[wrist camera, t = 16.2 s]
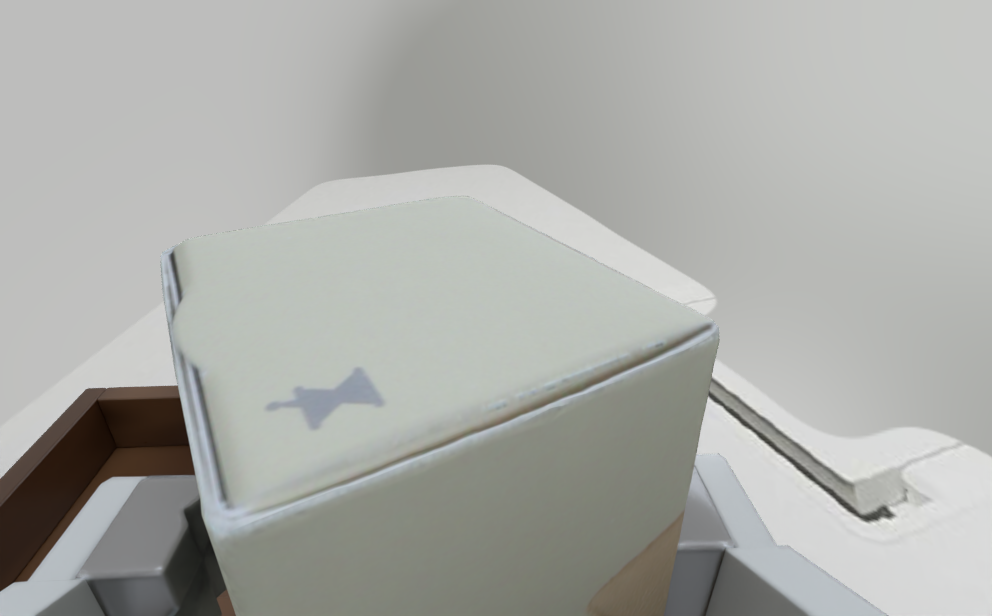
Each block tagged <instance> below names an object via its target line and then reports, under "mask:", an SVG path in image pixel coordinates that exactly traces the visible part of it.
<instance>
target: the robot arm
mask: <svg viewBox="0 0 992 616" xmlns="http://www.w3.org/2000/svg"><path fill="white" fill-rule="evenodd" d="M225 590H227V588H226V585H225V582H224V579H223V576H222V573H221V570H220V567H219V564H218V561H217V558H216V555H215V552H214V549H213V546H212V543H211V540H210V538H209V535H208V532H207V529H206V526H205V523H204V521H203V518H202V513H201V501H200V495H199V490H198V485H197V480H196V475H164V476H148V477H112V478H110V479H108V480H107V481H105V482H103V483H102V484H100V486H99V487H98V488H97V489H96V491H95V492H94V493H93V495H92V496H91V497H90V499H89V500H88V501H87V503H86V504H85V505H84V507H83V508H82V509H81V511H80V512H79V513H78V515H77V516H76V517H75V519H74V520H73V521H72V523H71V524H70V525H69V527H68V528H67V529H66V531H65V532H64V533H63V535H62V536H61V537H60V538H59V540H58V541H57V542H56V544H55V545H54V546H53V548H52V549H51V550H50V552H49V553H48V554H47V556H46V557H45V558H44V560H43V561H42V562H41V564H40V565H39V566H38V568H37V569H36V570H35V572H34V573H33V574H32V576H31V577H30V578H29V580H28V581H26V582H14V583H13V584H11V585H10V586H8V587H7V588H5V589H4V590H2V591H0V616H221V615H222V612H221V609H220V606H219V604H218V601H217V598H218V597H219V596H220V595H221V594H222V593H223V592H224V591H225ZM664 616H888V615H887V614H885V613H884V612H883V611H881V610H880V609H878V608H877V607H875V606H874V605H873V604H871V603H870V602H868V601H867V600H865V599H864V598H863V597H861V596H860V595H858V594H857V593H855V592H854V591H852V590H851V589H850V588H848V587H847V586H845V585H844V584H842V583H841V582H840V581H838V580H837V579H835V578H834V577H832V576H831V575H830V574H828V573H827V572H825V571H824V570H822V569H821V568H820V567H818V566H817V565H815V564H814V563H812V562H811V561H810V560H808V559H807V558H805V557H804V556H802V555H801V554H800V553H798V552H797V551H795V550H794V549H792V548H791V547H790V546H777V544H776V543H775V541H774V539H773V538H772V536H771V534H770V533H769V531H768V529H767V528H766V526H765V524H764V522H763V521H762V519H761V517H760V516H759V514H758V512H757V511H756V509H755V507H754V506H753V504H752V502H751V501H750V499H749V497H748V496H747V494H746V492H745V491H744V489H743V487H742V486H741V484H740V482H739V480H738V479H737V477H736V475H735V474H734V472H733V470H732V469H731V467H730V465H729V464H728V462H727V460H726V459H725V458H724V457H723V456H721V455H720V454H702V455H696V458H695V464H694V469H693V474H692V480H691V484H690V488H689V492H688V497H687V501H686V506H685V512H684V517H683V522H682V528H681V533H680V538H679V543H678V548H677V553H676V558H675V562H674V567H673V572H672V576H671V581H670V587H669V592H668V598H667V603H666V607H665V612H664Z"/></svg>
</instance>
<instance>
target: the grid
mask: <svg viewBox="0 0 992 616" xmlns="http://www.w3.org/2000/svg"><path fill="white" fill-rule="evenodd" d="M164 475H195V470H194V464H193V459H192V454H191V449H190V444H189V439H188V434H187V429H186V424H185V419H184V414H183V409H182V404H181V399H180V394H179V389H178V386H149V387H116V388H107V389H106V388H89V389H86V390H85V391H84V392H83V393H82V394H81V395H80V396H79V397H78V398H77V399H76V400H75V401H74V403H73V404H72V405H71V406H70V407H69V408H68V409H67V410H66V411H65V412H64V413H63V414H62V415H61V416H60V417H59V418H58V419H57V420H56V421H55V422H54V423H53V424H52V426H51V427H50V428H49V429H48V430H47V431H46V432H45V433H44V434H43V435H42V436H41V437H40V438H39V439H38V440H37V441H36V442H35V443H34V444H33V445H32V446H31V447H30V448H29V450H28V451H27V452H26V453H25V454H24V455H23V456H22V457H21V458H20V459H19V460H18V461H17V462H16V463H15V464H14V465H13V466H12V467H11V468H10V469H9V470H8V471H7V473H6V474H5V475H4V476H3V477H2V478H1V479H0V591H2V590H4V589H5V588H7V587H8V586H10V585H11V584H13V583H14V582H26V581H28V580H29V578H30V577H31V576H32V574H33V573H34V572H35V570H36V569H37V568H38V566H39V565H40V564H41V562H42V561H43V560H44V558H45V557H46V556H47V554H48V553H49V552H50V550H51V549H52V548H53V546H54V545H55V544H56V542H57V541H58V540H59V538H60V537H61V536H62V535H63V533H64V532H65V531H66V529H67V528H68V527H69V525H70V524H71V523H72V521H73V520H74V519H75V517H76V516H77V515H78V513H79V512H80V511H81V509H82V508H83V507H84V505H85V504H86V503H87V501H88V500H89V499H90V497H91V496H92V495H93V493H94V492H95V491H96V489H97V488H98V487H99V486H100V484H102V483H103V482H105V481H107V480H108V479H110V478H112V477H148V476H164ZM217 601H218V604H219V606H220V609H221V612H222V615H221V616H236V614H235V611H234V608H233V605H232V602H231V599H230V596H229V593H228V591H227V590H225V591H224V592H223V593H222V594H221V595H220V596H219V597H218V598H217Z"/></svg>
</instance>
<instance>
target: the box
mask: <svg viewBox="0 0 992 616" xmlns="http://www.w3.org/2000/svg"><path fill="white" fill-rule="evenodd" d="M161 275H162V289H163V296H164V303H165V310H166V316H167V323H168V329H169V336H170V342H171V349H172V355H173V362H174V368H175V374H176V379H177V384H178V389H179V394H180V399H181V404H182V409H183V414H184V419H185V424H186V429H187V434H188V439H189V444H190V449H191V454H192V459H193V464H194V470H195V475H196V480H197V485H198V490H199V495H200V501H201V513H202V518H203V521H204V523H205V526H206V529H207V532H208V535H209V538H210V540H211V543H212V546H213V549H214V552H215V555H216V558H217V561H218V564H219V567H220V570H221V573H222V576H223V579H224V582H225V585H226V588H227V591H228V593H229V596H230V599H231V602H232V605H233V608H234V611H235V614H236V616H664V612H665V607H666V603H667V598H668V592H669V587H670V581H671V576H672V572H673V567H674V562H675V558H676V553H677V548H678V543H679V538H680V533H681V528H682V522H683V517H684V512H685V506H686V501H687V497H688V492H689V488H690V484H691V480H692V474H693V469H694V464H695V458H696V453H697V447H698V441H699V436H700V430H701V425H702V421H703V416H704V412H705V408H706V403H707V398H708V393H709V388H710V382H711V377H712V372H713V366H714V362H715V358H716V353H717V349H718V345H719V327H718V326H717V325H716V324H715V323H714V321H712V320H711V319H710V318H708V317H706V316H704V315H702V314H700V313H699V312H697V311H695V310H693V309H691V308H689V307H687V306H685V305H683V304H681V303H679V302H677V301H675V300H673V299H671V298H669V297H667V296H665V295H663V294H660V293H659V292H657V291H655V290H653V289H651V288H649V287H647V286H645V285H644V284H642V283H640V282H638V281H636V280H634V279H632V278H630V277H628V276H626V275H624V274H622V273H620V272H618V271H616V270H614V269H612V268H610V267H608V266H606V265H604V264H602V263H600V262H598V261H597V260H595V259H594V258H592V257H589V256H587V255H585V254H583V253H581V252H579V251H578V250H576V249H574V248H572V247H570V246H568V245H566V244H564V243H562V242H560V241H558V240H555V239H553V238H552V237H550V236H548V235H546V234H544V233H542V232H540V231H538V230H536V229H534V228H532V227H530V226H528V225H526V224H524V223H522V222H520V221H518V220H516V219H514V218H512V217H510V216H508V215H506V214H504V213H502V212H500V211H498V210H496V209H494V208H492V207H490V206H488V205H486V204H484V203H482V202H480V201H478V200H476V199H474V198H471V197H468V196H453V197H442V198H433V199H426V200H419V201H413V202H407V203H401V204H395V205H389V206H383V207H377V208H372V209H366V210H359V211H353V212H348V213H341V214H334V215H328V216H323V217H317V218H311V219H303V220H296V221H290V222H284V223H278V224H271V225H265V226H258V227H252V228H247V229H240V230H234V231H229V232H222V233H216V234H211V235H205V236H200V237H196V238H192V239H187V240H185V241H183V242H182V243H180V244H179V245H175V246H173V247H171V248H170V249H167V250H166V251H164V252H163V253H162V255H161Z"/></svg>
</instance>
